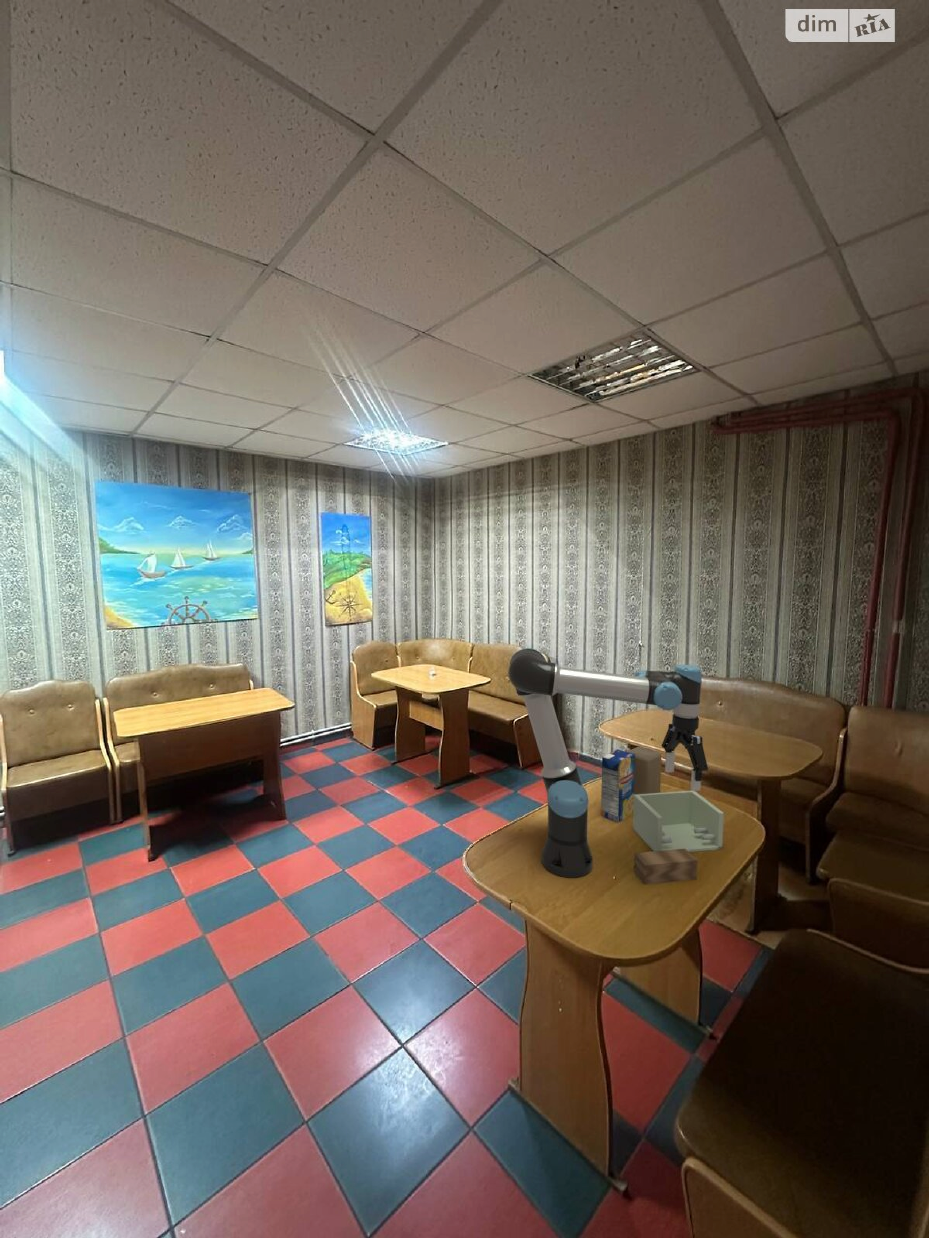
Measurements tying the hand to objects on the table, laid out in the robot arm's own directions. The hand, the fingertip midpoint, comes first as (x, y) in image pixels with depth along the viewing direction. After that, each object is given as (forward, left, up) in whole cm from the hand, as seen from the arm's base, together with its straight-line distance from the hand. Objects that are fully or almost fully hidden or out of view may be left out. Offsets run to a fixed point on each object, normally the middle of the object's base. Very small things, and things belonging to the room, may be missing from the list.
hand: (681, 780), depth 156 cm
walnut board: (-12, -13, -22) cm, 29 cm away
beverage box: (-10, +23, -22) cm, 33 cm away
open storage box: (+2, +5, -22) cm, 22 cm away
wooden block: (+3, +30, -22) cm, 37 cm away
